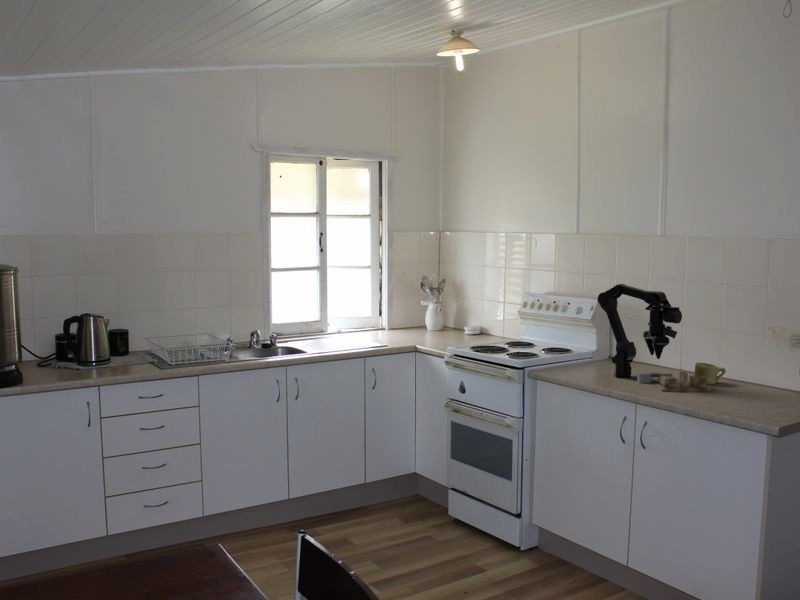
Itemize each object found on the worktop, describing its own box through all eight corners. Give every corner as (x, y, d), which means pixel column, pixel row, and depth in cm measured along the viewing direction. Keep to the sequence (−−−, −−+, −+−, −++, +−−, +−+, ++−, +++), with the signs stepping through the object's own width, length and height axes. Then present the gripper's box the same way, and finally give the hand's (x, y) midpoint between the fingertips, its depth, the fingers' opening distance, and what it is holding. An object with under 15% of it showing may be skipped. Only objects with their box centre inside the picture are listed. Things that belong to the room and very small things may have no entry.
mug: (689, 379, 322) (696, 357, 323) (691, 382, 331) (698, 361, 332) (719, 388, 316) (726, 365, 317) (721, 391, 325) (727, 369, 326)
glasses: (639, 383, 326) (639, 373, 325) (637, 381, 328) (637, 372, 328) (672, 383, 325) (672, 374, 324) (669, 381, 328) (670, 372, 327)
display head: (661, 391, 309) (662, 374, 309) (655, 386, 318) (655, 370, 318) (711, 391, 308) (712, 374, 308) (703, 386, 317) (704, 370, 317)
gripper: (682, 324, 314) (681, 361, 316) (668, 318, 333) (667, 353, 334) (655, 324, 315) (654, 361, 316) (643, 318, 333) (642, 353, 335)
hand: (655, 356), depth 326 cm, fingers open, 9 cm apart
